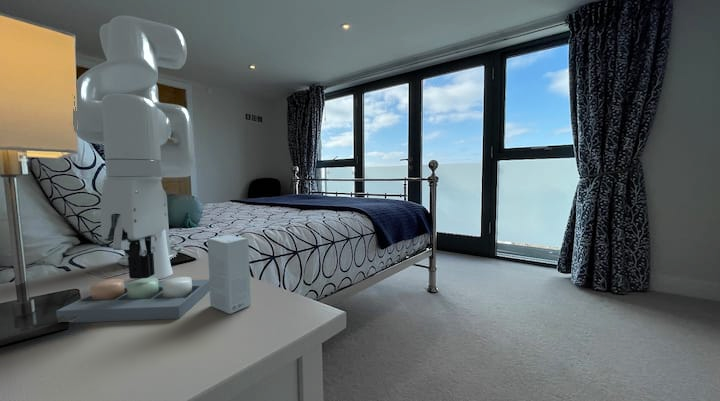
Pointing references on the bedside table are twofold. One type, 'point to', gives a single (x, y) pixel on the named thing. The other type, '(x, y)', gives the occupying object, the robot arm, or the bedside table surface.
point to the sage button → (142, 288)
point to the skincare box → (229, 273)
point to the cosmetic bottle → (161, 258)
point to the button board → (135, 306)
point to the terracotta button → (107, 290)
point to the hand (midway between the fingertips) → (142, 276)
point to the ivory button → (177, 287)
